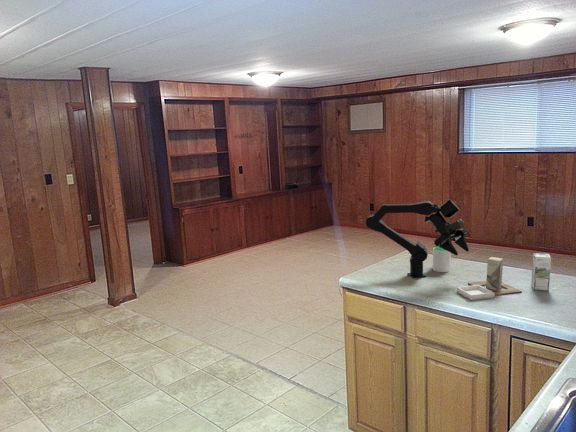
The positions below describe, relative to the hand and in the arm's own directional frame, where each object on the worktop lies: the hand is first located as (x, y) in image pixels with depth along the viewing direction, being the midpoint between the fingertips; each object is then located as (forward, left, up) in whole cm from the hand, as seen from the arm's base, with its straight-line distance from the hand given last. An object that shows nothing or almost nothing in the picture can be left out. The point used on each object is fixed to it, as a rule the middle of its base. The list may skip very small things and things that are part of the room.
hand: (462, 253), depth 200 cm
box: (+11, +8, -14) cm, 19 cm away
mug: (-22, +2, -14) cm, 26 cm away
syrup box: (+17, +25, -14) cm, 33 cm away
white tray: (+16, -4, -13) cm, 21 cm away
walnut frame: (+11, +8, -13) cm, 19 cm away
